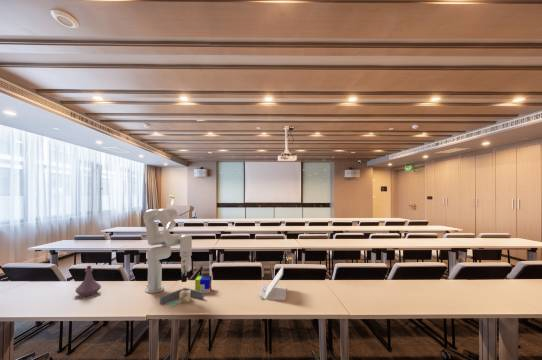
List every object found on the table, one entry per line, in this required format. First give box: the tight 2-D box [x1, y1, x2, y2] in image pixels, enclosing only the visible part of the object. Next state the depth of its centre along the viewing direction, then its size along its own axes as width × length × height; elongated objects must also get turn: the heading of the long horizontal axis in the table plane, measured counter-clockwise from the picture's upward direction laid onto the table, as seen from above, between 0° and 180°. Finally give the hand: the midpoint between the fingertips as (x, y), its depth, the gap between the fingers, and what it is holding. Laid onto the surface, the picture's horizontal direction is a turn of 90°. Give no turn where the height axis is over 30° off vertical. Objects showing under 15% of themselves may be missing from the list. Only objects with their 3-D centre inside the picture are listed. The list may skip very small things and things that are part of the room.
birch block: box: [178, 290, 192, 304], centre depth 189 cm, size 6×6×6 cm
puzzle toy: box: [194, 275, 212, 294], centre depth 209 cm, size 10×10×10 cm
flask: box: [75, 265, 102, 298], centre depth 203 cm, size 16×16×20 cm
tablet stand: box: [259, 265, 287, 301], centre depth 205 cm, size 18×25×17 cm
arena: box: [159, 287, 205, 307], centre depth 188 cm, size 18×21×5 cm
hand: (185, 279), depth 189 cm, fingers open, 9 cm apart
